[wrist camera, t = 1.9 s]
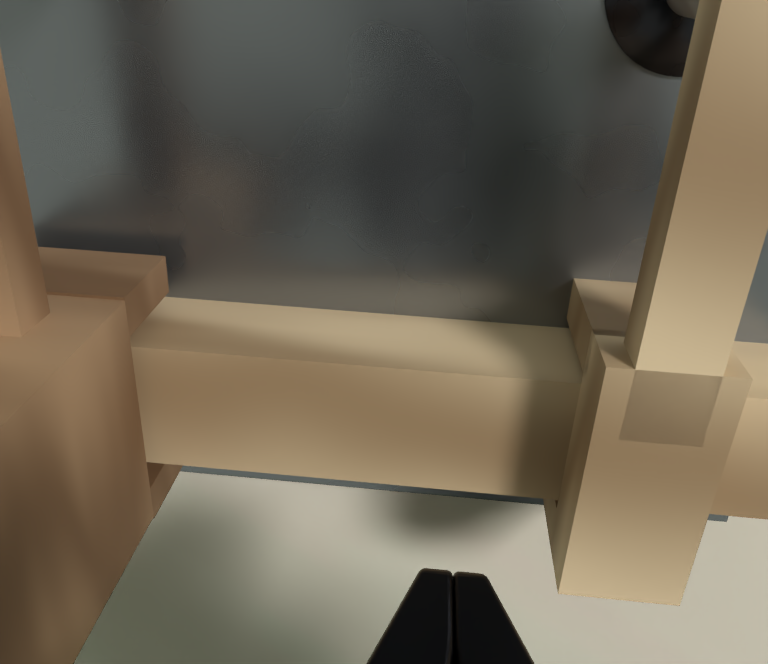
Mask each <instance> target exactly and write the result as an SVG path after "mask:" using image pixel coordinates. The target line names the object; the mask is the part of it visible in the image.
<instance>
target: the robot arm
mask: <svg viewBox="0 0 768 664" xmlns="http://www.w3.org/2000/svg"><path fill="white" fill-rule="evenodd" d="M367 664H534V662H533V660H532V658H531V656H530V655H529V653H528V651H527V649H526V647H525V645H524V644H523V642H522V640H521V638H520V636H519V635H518V633H517V631H516V629H515V627H514V625H513V624H512V622H511V620H510V618H509V616H508V614H507V613H506V611H505V609H504V607H503V605H502V603H501V602H500V600H499V598H498V596H497V594H496V592H495V591H494V589H493V587H492V585H491V583H490V581H489V580H488V578H487V577H486V576H485V575H483V574H479V573H469V572H456V573H455V574H454V575H452V573H451V572H450V571H448V570H438V569H428V568H424V569H422V570H420V571H419V573H418V574H417V576H416V578H415V580H414V581H413V583H412V585H411V587H410V588H409V590H408V592H407V594H406V595H405V597H404V599H403V601H402V602H401V604H400V606H399V608H398V609H397V611H396V613H395V615H394V616H393V618H392V620H391V622H390V623H389V625H388V627H387V629H386V630H385V632H384V634H383V636H382V637H381V639H380V641H379V643H378V644H377V646H376V648H375V650H374V651H373V653H372V655H371V657H370V658H369V660H368V662H367Z"/></svg>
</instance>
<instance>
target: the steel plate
mask: <svg viewBox="0 0 768 664" xmlns="http://www.w3.org/2000/svg"><path fill="white" fill-rule="evenodd" d="M694 23H695V19H691V18H687V17H683V16H680V15H678V14H677V13H675V12H674V11H673V10H672V9H671V8H670V7H669V5H668V3H667V1H666V0H0V49H1V55H2V60H3V65H4V70H5V76H6V81H7V86H8V92H9V97H10V102H11V108H12V113H13V118H14V123H15V129H16V134H17V139H18V145H19V150H20V155H21V160H22V166H23V171H24V176H25V182H26V187H27V192H28V197H29V203H30V208H31V213H32V219H33V224H34V229H35V235H36V240H37V245H38V247H50V248H63V249H77V250H90V251H104V252H117V253H130V254H144V255H157V256H165V257H166V267H167V276H168V286H169V293H168V294H167V295H166V296H165V297H175V298H188V299H201V300H214V301H226V302H239V303H252V304H265V305H278V306H291V307H303V308H316V309H329V310H342V311H355V312H368V313H381V314H393V315H406V316H419V317H432V318H445V319H458V320H470V321H483V322H496V323H509V324H522V325H535V326H548V327H560V328H569V324H568V321H567V313H568V307H569V302H570V296H571V290H572V285H573V279H574V278H578V279H591V280H605V281H618V282H632V283H637V280H638V275H639V271H640V266H641V262H642V257H643V253H644V248H645V244H646V239H647V235H648V230H649V226H650V221H651V217H652V212H653V208H654V203H655V199H656V194H657V190H658V185H659V181H660V176H661V172H662V167H663V163H664V158H665V154H666V149H667V145H668V140H669V136H670V131H671V126H672V122H673V117H674V113H675V108H676V104H677V99H678V95H679V90H680V86H681V81H682V77H683V72H684V68H685V63H686V59H687V54H688V50H689V45H690V41H691V36H692V32H693V27H694ZM734 341H740V342H753V343H766V344H768V230H767V233H766V236H765V240H764V243H763V246H762V250H761V253H760V256H759V259H758V263H757V266H756V269H755V273H754V276H753V279H752V283H751V286H750V289H749V293H748V296H747V299H746V303H745V306H744V309H743V313H742V316H741V319H740V323H739V326H738V329H737V333H736V336H735V339H734ZM180 471H184V472H195V473H206V474H217V475H228V476H238V477H249V478H260V479H271V480H282V481H292V482H303V483H314V484H325V485H335V486H346V487H357V488H368V489H379V490H389V491H400V492H411V493H422V494H433V495H443V496H454V497H465V498H476V499H487V500H497V501H508V502H519V503H530V504H541V505H544V502H543V499H542V498H531V497H520V496H509V495H499V494H488V493H477V492H466V491H455V490H444V489H433V488H423V487H412V486H401V485H390V484H379V483H368V482H357V481H347V480H336V479H325V478H314V477H303V476H292V475H282V474H271V473H260V472H249V471H238V470H227V469H216V468H206V467H195V466H184V465H183V466H182V468H181V470H180ZM727 519H728V516H726V515H716V514H709V516H708V519H707V520H713V521H724V522H727Z"/></svg>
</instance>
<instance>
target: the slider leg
mask: <svg viewBox="0 0 768 664" xmlns="http://www.w3.org/2000/svg"><path fill="white" fill-rule="evenodd" d="M168 293H169V286H168V276H167V267H166V257H165V256H157V255H144V254H130V253H117V252H104V251H90V250H77V249H63V248H50V247H38V245H37V240H36V235H35V229H34V224H33V219H32V213H31V208H30V203H29V197H28V192H27V187H26V182H25V176H24V171H23V166H22V160H21V155H20V150H19V145H18V139H17V134H16V129H15V123H14V118H13V113H12V108H11V102H10V97H9V92H8V86H7V81H6V76H5V70H4V65H3V60H2V55H1V49H0V664H73V663H74V661H75V660H76V658H77V656H78V654H79V652H80V650H81V649H82V647H83V645H84V643H85V641H86V639H87V638H88V636H89V634H90V632H91V630H92V629H93V627H94V625H95V623H96V621H97V619H98V618H99V616H100V614H101V612H102V610H103V608H104V607H105V605H106V603H107V601H108V599H109V597H110V596H111V594H112V592H113V590H114V588H115V586H116V585H117V583H118V581H119V579H120V577H121V575H122V574H123V572H124V570H125V568H126V566H127V564H128V563H129V561H130V559H131V557H132V555H133V553H134V552H135V550H136V548H137V546H138V544H139V542H140V541H141V539H142V537H143V535H144V533H145V531H146V530H147V528H148V526H149V524H150V522H151V521H152V519H153V518H155V516H156V514H157V512H158V510H159V508H160V507H161V505H162V503H163V501H164V499H165V497H166V496H167V494H168V492H169V490H170V488H171V486H172V484H173V483H174V481H175V479H176V477H177V475H178V473H179V472H180V470H181V468H182V466H183V465H173V464H162V463H151V462H146V454H145V447H144V439H143V432H142V425H141V417H140V410H139V402H138V395H137V388H136V380H135V373H134V365H133V358H132V351H131V343H130V336H131V335H132V334H133V333H134V332H135V330H136V329H137V328H138V327H139V326H140V325H141V324H142V322H143V321H144V320H145V319H146V318H147V317H148V316H149V314H150V313H151V312H152V311H153V310H154V309H155V307H156V306H157V305H158V304H159V303H160V302H161V301H162V299H163V298H164V297H165V296H166V295H167V294H168Z"/></svg>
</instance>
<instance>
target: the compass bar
mask: <svg viewBox="0 0 768 664" xmlns="http://www.w3.org/2000/svg"><path fill="white" fill-rule="evenodd" d="M666 1H667V3H668V5H669V7H670V8H671V9H672V10H673V11H674V12H675V13H677V14H678V15H680V16H683V17H687V18H691V19H695V23H694V27H693V32H692V36H691V41H690V45H689V50H688V54H687V59H686V63H685V68H684V72H683V77H682V81H681V86H680V90H679V95H678V99H677V104H676V108H675V113H674V117H673V122H672V126H671V131H670V136H669V140H668V145H667V149H666V154H665V158H664V163H663V167H662V172H661V176H660V181H659V185H658V190H657V194H656V199H655V203H654V208H653V212H652V217H651V221H650V226H649V230H648V235H647V239H646V244H645V248H644V253H643V257H642V262H641V266H640V271H639V275H638V280H637V283H632V282H618V281H605V280H591V279H578V278H574V279H573V285H572V290H571V296H570V302H569V307H568V313H567V321H568V324H569V328H560V327H548V326H535V325H522V324H509V323H496V322H483V321H470V320H458V319H445V318H432V317H419V316H406V315H393V314H381V313H368V312H355V311H342V310H329V309H316V308H303V307H291V306H278V305H265V304H252V303H239V302H226V301H214V300H201V299H188V298H175V297H164V298H163V299H162V301H161V302H160V303H159V304H158V305H157V306H156V307H155V309H154V310H153V311H152V312H151V313H150V314H149V316H148V317H147V318H146V319H145V320H144V321H143V322H142V324H141V325H140V326H139V327H138V328H137V329H136V330H135V332H134V333H133V334H132V335H131V336H130V343H131V351H132V358H133V365H134V373H135V380H136V388H137V395H138V402H139V410H140V417H141V425H142V432H143V439H144V447H145V454H146V462H151V463H162V464H173V465H184V466H195V467H206V468H216V469H227V470H238V471H249V472H260V473H271V474H282V475H292V476H303V477H314V478H325V479H336V480H347V481H357V482H368V483H379V484H390V485H401V486H412V487H423V488H433V489H444V490H455V491H466V492H477V493H488V494H499V495H509V496H520V497H531V498H542V499H543V502H544V508H545V515H546V521H547V527H548V533H549V540H550V546H551V552H552V559H553V565H554V571H555V578H556V584H557V590H558V594H566V595H576V596H586V597H596V598H606V599H616V600H626V601H636V602H646V603H656V604H666V605H676V606H680V603H681V600H682V597H683V593H684V590H685V587H686V584H687V581H688V578H689V575H690V572H691V569H692V566H693V563H694V559H695V556H696V553H697V550H698V547H699V544H700V541H701V538H702V535H703V532H704V529H705V525H706V522H707V519H708V516H709V514H716V515H726V516H737V517H748V518H759V519H768V344H766V343H753V342H740V341H734V339H735V336H736V333H737V329H738V326H739V323H740V319H741V316H742V313H743V309H744V306H745V303H746V299H747V296H748V293H749V289H750V286H751V283H752V279H753V276H754V273H755V269H756V266H757V263H758V259H759V256H760V253H761V250H762V246H763V243H764V240H765V236H766V233H767V230H768V0H666Z"/></svg>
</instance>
